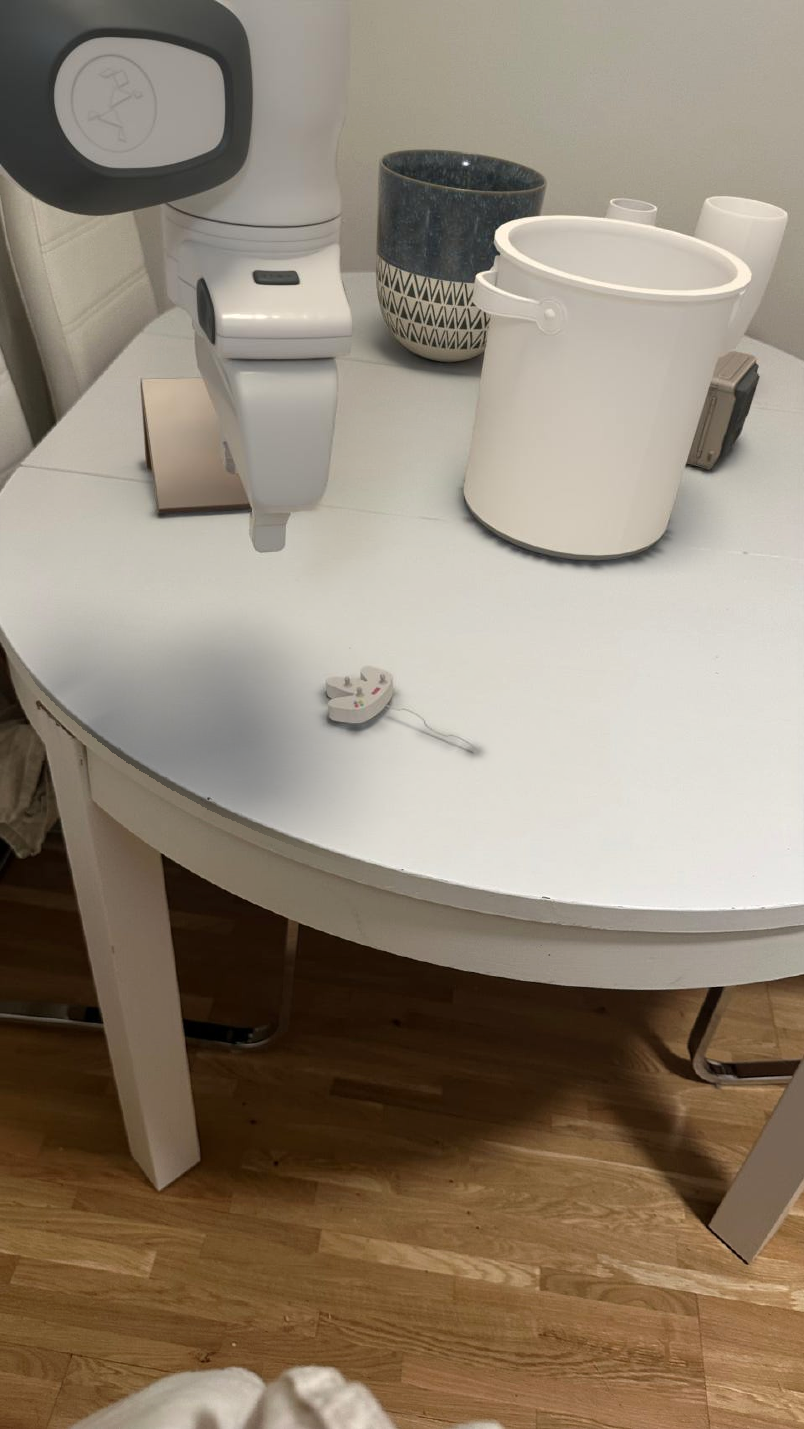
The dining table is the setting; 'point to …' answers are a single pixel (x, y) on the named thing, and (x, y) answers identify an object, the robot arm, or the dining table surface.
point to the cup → (744, 248)
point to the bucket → (593, 379)
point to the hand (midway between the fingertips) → (251, 505)
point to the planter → (444, 243)
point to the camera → (724, 408)
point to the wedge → (186, 449)
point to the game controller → (361, 696)
